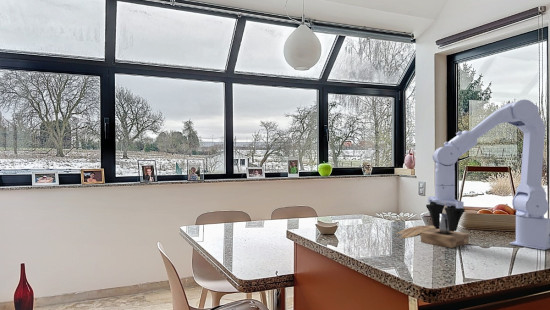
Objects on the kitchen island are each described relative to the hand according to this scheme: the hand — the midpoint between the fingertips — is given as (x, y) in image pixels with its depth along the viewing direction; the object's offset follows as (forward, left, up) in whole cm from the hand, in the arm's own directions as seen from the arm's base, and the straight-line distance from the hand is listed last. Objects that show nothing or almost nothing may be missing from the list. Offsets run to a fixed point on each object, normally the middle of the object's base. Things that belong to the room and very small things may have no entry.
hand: (444, 228), depth 125 cm
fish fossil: (+16, -7, -5) cm, 18 cm away
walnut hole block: (0, 0, -4) cm, 4 cm away
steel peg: (0, 0, -4) cm, 4 cm away
